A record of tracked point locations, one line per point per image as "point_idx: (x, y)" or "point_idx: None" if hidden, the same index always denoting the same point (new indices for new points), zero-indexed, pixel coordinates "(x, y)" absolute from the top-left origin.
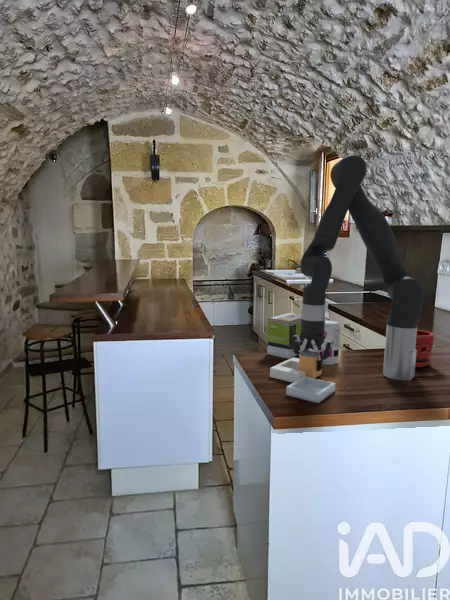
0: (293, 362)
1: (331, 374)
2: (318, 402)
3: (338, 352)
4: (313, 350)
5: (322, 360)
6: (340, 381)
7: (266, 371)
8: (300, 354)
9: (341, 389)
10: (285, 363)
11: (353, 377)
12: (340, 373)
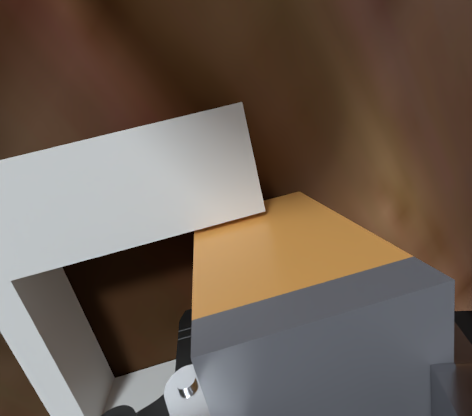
0: (49, 266)
1: (316, 98)
2: None
3: None
4: (353, 413)
5: None
6: (419, 173)
7: (19, 401)
8: None
9: (468, 271)
10: (58, 360)
11: (451, 24)
12: (348, 16)
